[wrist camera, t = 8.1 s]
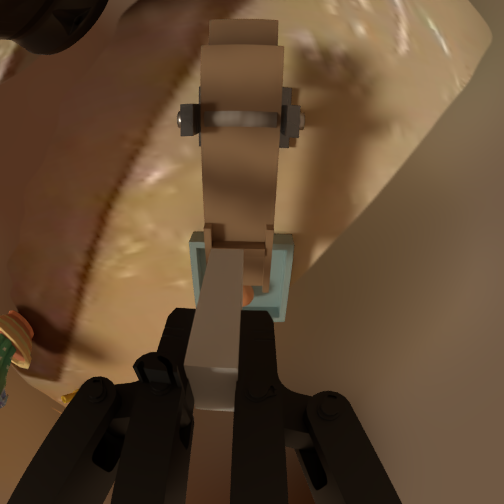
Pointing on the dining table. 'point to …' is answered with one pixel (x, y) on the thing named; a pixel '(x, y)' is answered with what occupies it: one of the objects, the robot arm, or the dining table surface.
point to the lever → (241, 140)
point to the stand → (288, 127)
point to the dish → (262, 301)
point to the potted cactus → (13, 346)
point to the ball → (247, 295)
